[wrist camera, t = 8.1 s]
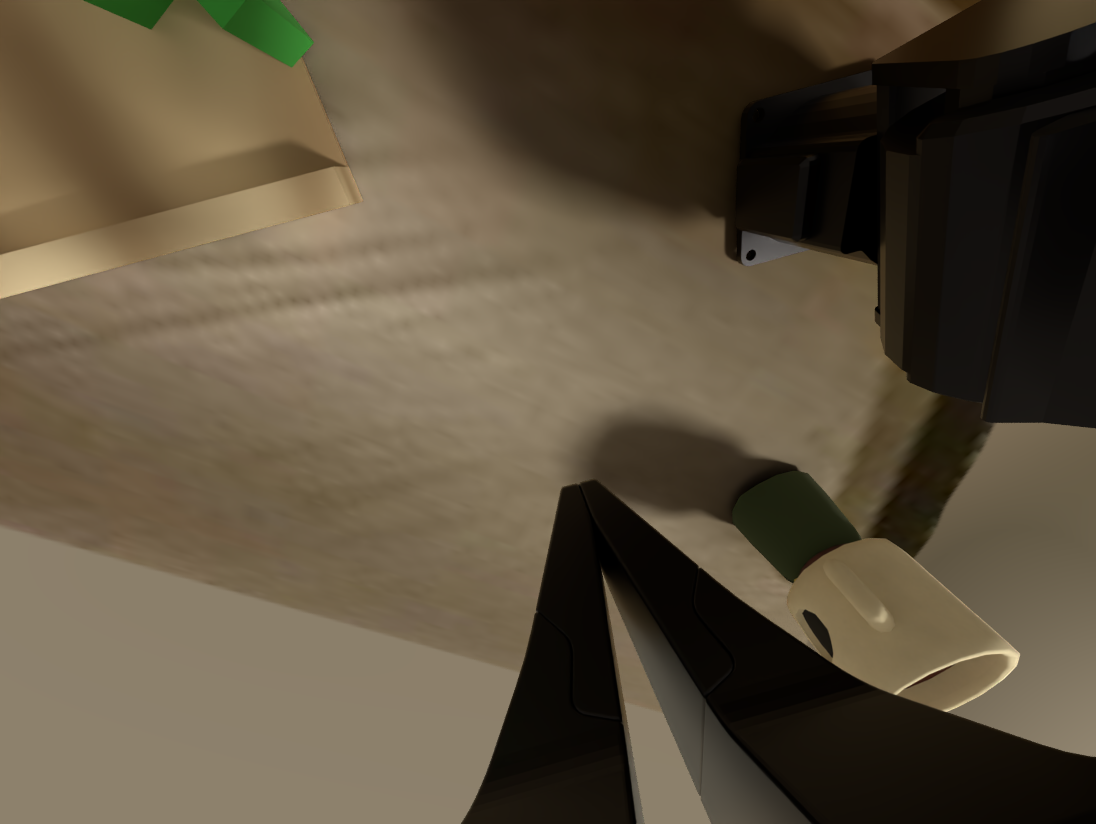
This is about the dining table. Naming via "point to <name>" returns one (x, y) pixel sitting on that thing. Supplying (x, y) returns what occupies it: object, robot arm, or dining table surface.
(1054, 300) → the robot arm
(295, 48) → the pipe clamp
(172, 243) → the corral
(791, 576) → the character mug
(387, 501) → the dining table surface
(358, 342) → the dining table surface
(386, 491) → the dining table surface
